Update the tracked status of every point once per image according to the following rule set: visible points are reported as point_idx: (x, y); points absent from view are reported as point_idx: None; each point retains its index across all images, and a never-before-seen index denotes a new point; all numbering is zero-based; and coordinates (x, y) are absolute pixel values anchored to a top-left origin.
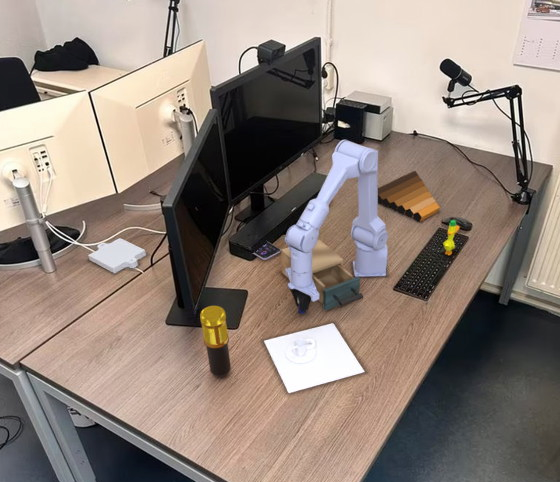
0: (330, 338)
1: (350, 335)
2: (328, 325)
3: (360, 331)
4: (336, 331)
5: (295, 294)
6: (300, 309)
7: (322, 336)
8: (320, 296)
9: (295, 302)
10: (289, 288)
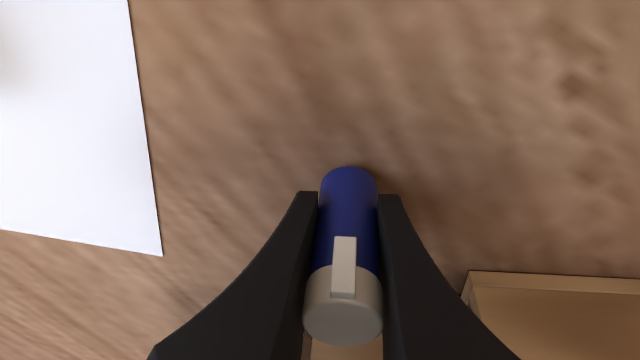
0: (19, 184)
1: (41, 264)
2: (148, 231)
3: (67, 302)
4: (83, 235)
5: (394, 309)
6: (331, 195)
7: (47, 157)
8: (341, 350)
9: (394, 218)
10: (491, 357)
